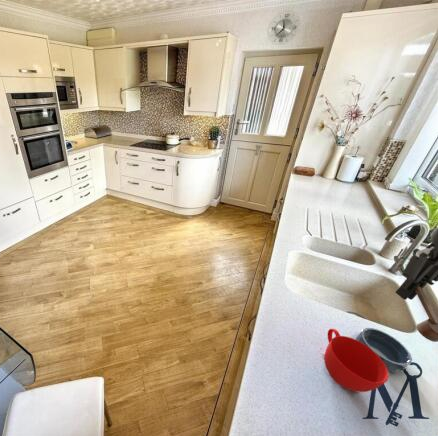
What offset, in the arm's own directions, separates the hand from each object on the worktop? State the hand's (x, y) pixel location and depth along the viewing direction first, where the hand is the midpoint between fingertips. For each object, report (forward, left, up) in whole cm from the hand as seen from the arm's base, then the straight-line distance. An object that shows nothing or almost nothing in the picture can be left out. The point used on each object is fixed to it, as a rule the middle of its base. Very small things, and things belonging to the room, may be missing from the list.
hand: (403, 295), depth 70 cm
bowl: (0, +5, -22) cm, 22 cm away
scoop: (0, +4, -3) cm, 5 cm away
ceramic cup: (+18, +10, -22) cm, 30 cm away
